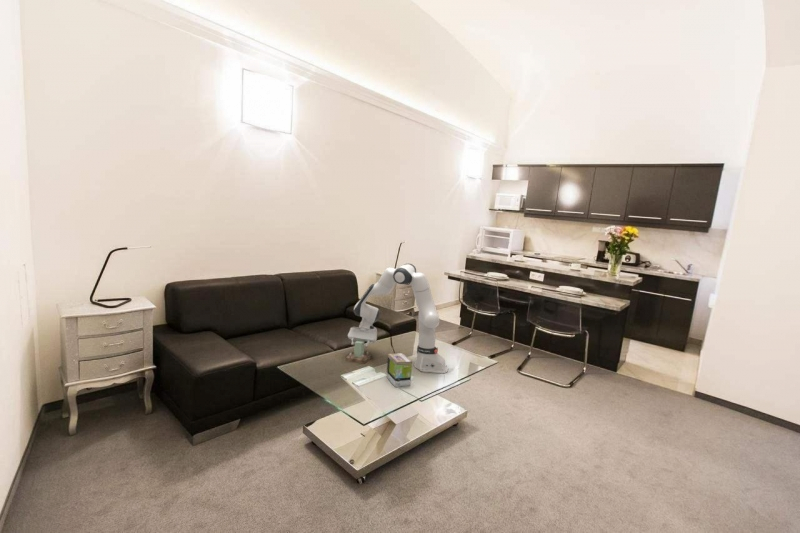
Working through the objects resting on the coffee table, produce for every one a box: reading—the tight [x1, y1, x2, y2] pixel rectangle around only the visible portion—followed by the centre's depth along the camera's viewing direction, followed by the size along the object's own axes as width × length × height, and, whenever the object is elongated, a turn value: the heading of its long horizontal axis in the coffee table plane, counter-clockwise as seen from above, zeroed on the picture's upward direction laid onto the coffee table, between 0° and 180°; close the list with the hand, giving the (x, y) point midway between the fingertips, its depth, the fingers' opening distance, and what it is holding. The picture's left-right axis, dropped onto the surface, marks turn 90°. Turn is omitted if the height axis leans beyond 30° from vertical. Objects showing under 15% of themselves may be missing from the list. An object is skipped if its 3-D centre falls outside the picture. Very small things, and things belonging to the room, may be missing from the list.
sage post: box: [353, 340, 365, 358], centre depth 247 cm, size 5×5×10 cm
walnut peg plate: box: [344, 350, 372, 364], centre depth 247 cm, size 14×12×5 cm
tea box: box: [386, 352, 413, 388], centre depth 214 cm, size 15×10×15 cm, turn 22°
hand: (359, 345), depth 246 cm, fingers open, 8 cm apart
